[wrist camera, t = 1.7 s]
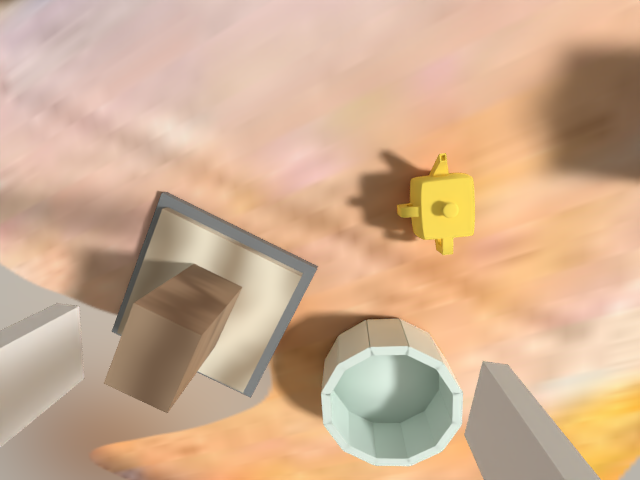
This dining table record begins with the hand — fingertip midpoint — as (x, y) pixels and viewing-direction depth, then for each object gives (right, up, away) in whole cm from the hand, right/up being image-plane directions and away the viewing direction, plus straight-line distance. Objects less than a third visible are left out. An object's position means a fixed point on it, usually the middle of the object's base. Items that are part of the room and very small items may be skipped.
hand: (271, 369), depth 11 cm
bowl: (+8, -9, +23) cm, 26 cm away
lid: (-9, -2, +22) cm, 24 cm away
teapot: (+11, +8, +19) cm, 23 cm away
